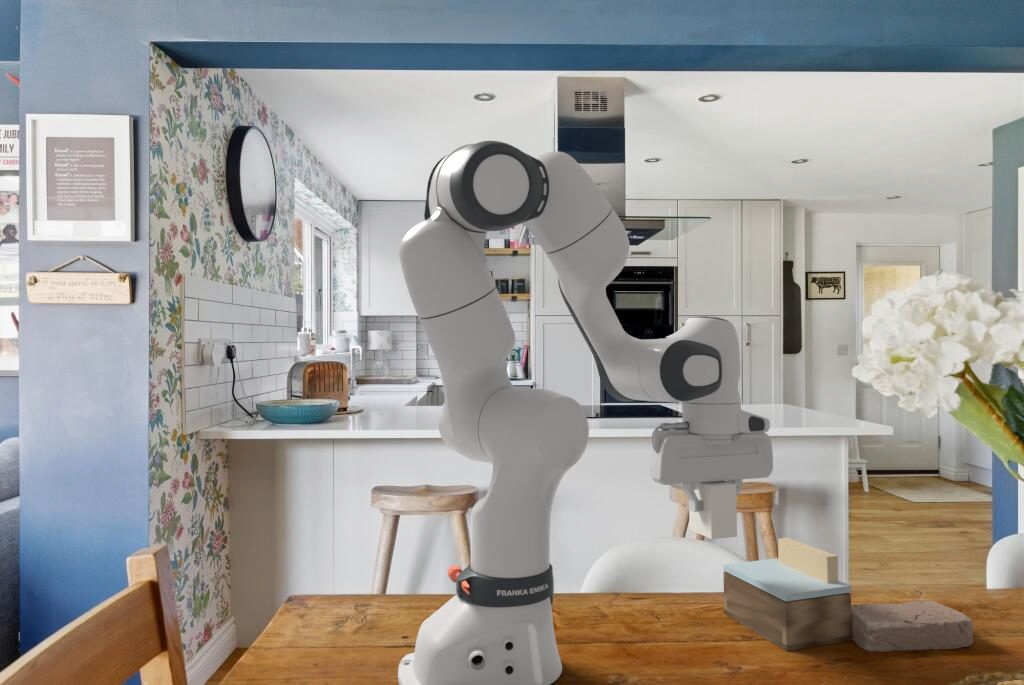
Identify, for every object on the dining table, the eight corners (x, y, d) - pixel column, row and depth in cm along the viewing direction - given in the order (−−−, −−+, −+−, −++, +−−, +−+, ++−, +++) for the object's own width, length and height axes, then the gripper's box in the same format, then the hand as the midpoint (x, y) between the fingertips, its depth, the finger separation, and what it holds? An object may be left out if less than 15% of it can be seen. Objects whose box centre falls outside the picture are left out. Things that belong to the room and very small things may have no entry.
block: (711, 539, 100) (710, 486, 100) (689, 529, 106) (688, 479, 106) (736, 536, 101) (736, 484, 101) (713, 526, 107) (713, 477, 107)
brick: (868, 654, 97) (868, 622, 97) (836, 630, 105) (836, 600, 105) (976, 651, 98) (976, 619, 98) (936, 628, 106) (936, 598, 106)
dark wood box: (786, 651, 97) (785, 602, 97) (724, 613, 111) (723, 571, 112) (851, 640, 101) (850, 593, 101) (783, 605, 115) (782, 564, 115)
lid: (785, 601, 97) (785, 567, 97) (723, 570, 112) (723, 540, 112) (850, 592, 101) (850, 559, 101) (782, 563, 115) (782, 534, 115)
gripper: (662, 425, 98) (664, 519, 97) (778, 420, 104) (780, 508, 104) (642, 421, 104) (643, 510, 103) (752, 416, 110) (754, 500, 110)
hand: (712, 509), depth 104 cm, fingers closed on block, 4 cm apart
